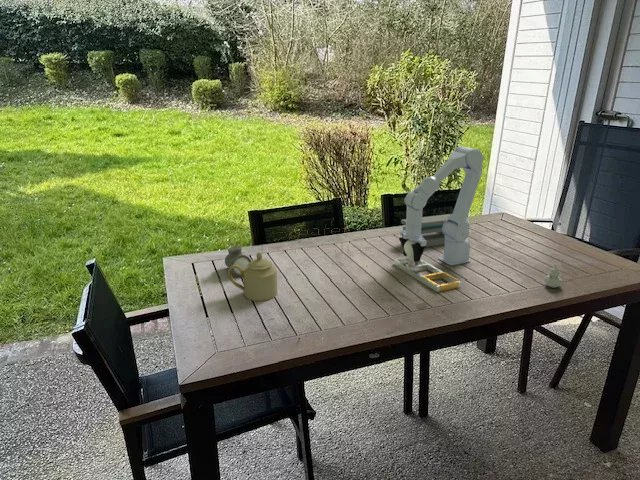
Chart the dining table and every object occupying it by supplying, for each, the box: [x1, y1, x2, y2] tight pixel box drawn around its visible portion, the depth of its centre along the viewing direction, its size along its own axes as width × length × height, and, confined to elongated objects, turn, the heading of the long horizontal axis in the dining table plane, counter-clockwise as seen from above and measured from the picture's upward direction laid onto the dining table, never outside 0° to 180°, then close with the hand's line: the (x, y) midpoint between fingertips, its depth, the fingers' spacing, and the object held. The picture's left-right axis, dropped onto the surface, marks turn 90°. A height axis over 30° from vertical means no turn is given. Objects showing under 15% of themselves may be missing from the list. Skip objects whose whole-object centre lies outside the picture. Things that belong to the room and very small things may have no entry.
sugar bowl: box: [227, 252, 278, 302], centre depth 146 cm, size 15×11×15 cm
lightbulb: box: [404, 240, 416, 267], centre depth 169 cm, size 6×6×11 cm
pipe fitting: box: [224, 245, 252, 278], centre depth 167 cm, size 12×8×10 cm
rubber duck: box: [544, 265, 564, 289], centre depth 151 cm, size 5×7×8 cm
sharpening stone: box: [400, 213, 452, 247], centre depth 195 cm, size 25×8×11 cm, turn 109°
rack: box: [393, 256, 462, 293], centre depth 162 cm, size 10×27×2 cm, turn 23°
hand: (411, 258), depth 169 cm, fingers closed on lightbulb, 6 cm apart
